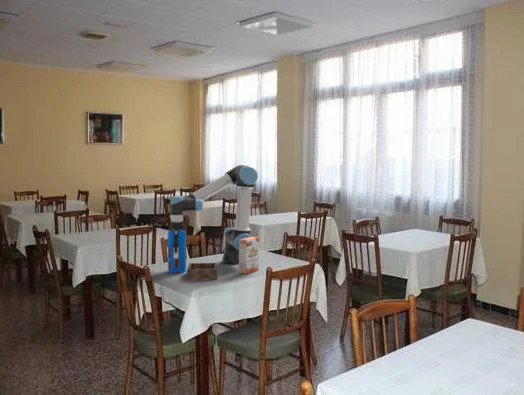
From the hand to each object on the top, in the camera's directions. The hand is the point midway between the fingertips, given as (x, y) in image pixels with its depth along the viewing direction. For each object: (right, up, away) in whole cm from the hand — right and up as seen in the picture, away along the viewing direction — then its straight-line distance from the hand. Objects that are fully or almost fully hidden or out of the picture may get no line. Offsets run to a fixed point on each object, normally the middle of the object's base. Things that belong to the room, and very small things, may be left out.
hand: (177, 255), depth 314 cm
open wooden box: (+17, -11, -10) cm, 22 cm away
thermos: (0, -10, +1) cm, 10 cm away
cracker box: (+44, -10, +2) cm, 45 cm away
